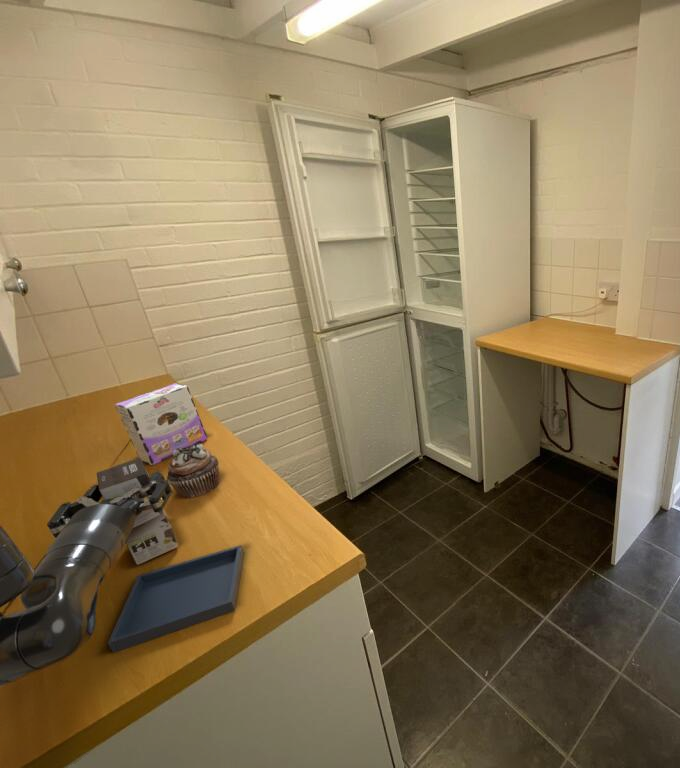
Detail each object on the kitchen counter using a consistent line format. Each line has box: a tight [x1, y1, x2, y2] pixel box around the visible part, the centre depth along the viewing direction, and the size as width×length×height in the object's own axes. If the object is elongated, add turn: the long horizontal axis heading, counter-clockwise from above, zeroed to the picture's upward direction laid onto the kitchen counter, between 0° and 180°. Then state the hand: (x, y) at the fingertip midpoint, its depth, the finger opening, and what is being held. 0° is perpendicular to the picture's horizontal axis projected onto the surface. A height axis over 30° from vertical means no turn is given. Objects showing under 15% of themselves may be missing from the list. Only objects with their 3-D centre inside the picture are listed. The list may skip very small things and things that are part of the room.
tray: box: [107, 544, 245, 653], centre depth 68 cm, size 15×13×2 cm
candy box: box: [114, 382, 209, 466], centre depth 108 cm, size 14×6×16 cm, turn 155°
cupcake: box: [166, 443, 221, 499], centre depth 94 cm, size 10×10×10 cm
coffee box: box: [96, 457, 179, 566], centre depth 76 cm, size 9×6×16 cm
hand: (129, 482), depth 74 cm, fingers closed on coffee box, 8 cm apart
